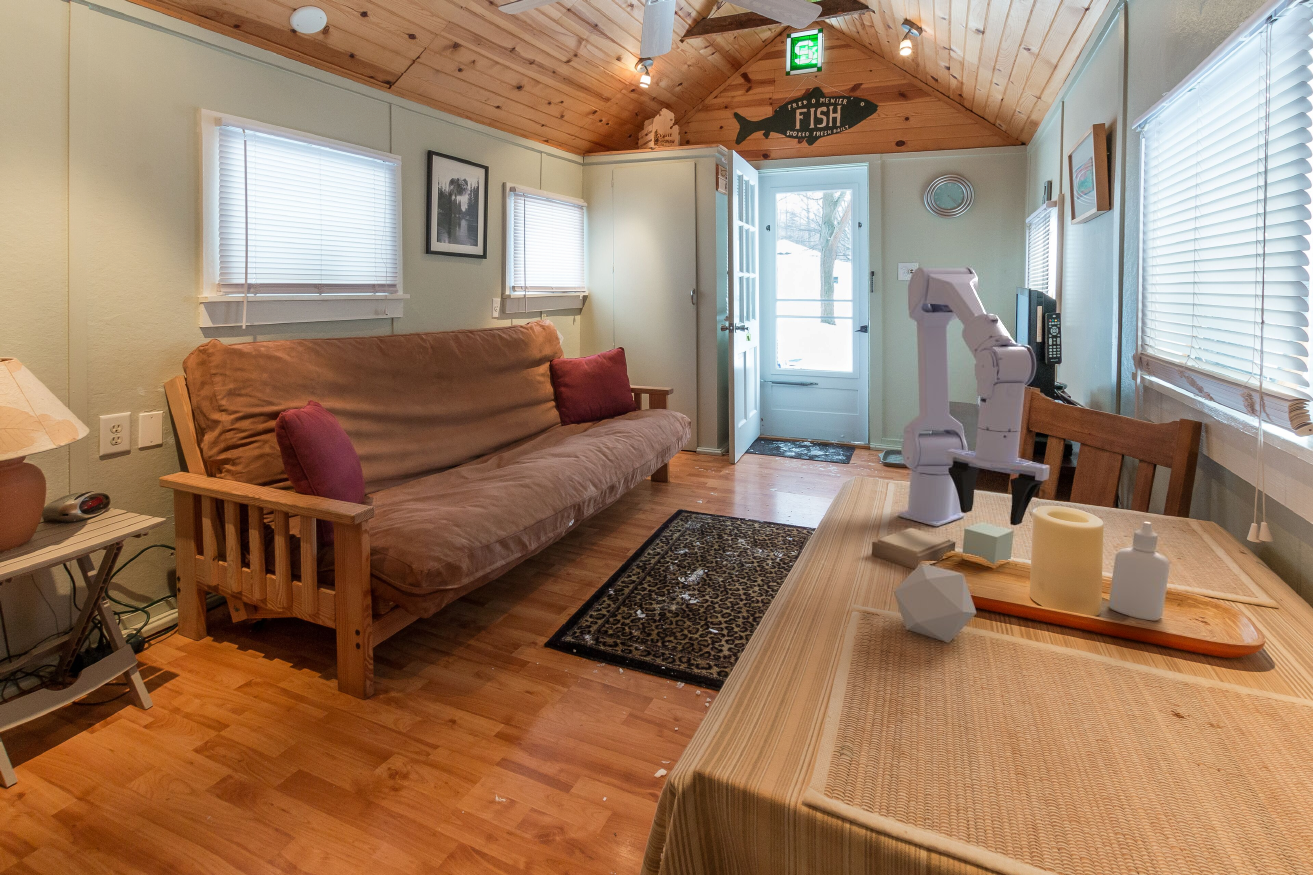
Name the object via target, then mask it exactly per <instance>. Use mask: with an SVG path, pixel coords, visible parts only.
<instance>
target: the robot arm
mask: <svg viewBox="0 0 1313 875" xmlns="http://www.w3.org/2000/svg"><path fill="white" fill-rule="evenodd" d="M978 279H979V278H978V276H977V274H976V272H975V270H974V269H973V268H972V267H970V266H969V267H961V268H958V267H956V268H954V267H950V268H949V267H948V268H947V267H946V268H944V267H941V268H940V267H939V268H938V267H937V268H936V267H934V268H933V267H931V268H929V267H928V268H927V267H926V268H925V267H921V266H920V267H917V268H916V269H915V270H914V271H913V272H912V274H911V277H910V279H909V283H908V286H907V303H908V304H907V306H908V317H909V318H910V319H912V320H913V321H914V322H916V338H917V340H916V341H917V373H918V375H917V376H918V377H917V378H918V409H919V410H918V412H919V413H918V415H917V416H916V417H915V418H914V419H912V420H911V421H910V422H908V423H906V425H905V426H904V428H903V436H902V438H903V439H902V441H901V450H900V451H901V458H902V461H903V463H904V464H905V466H906V467H907V468H909V469H910V474H909V475H910V477H909V490H908V501H907V502H908V503H907V504H908V505H907V509H906V510H903V511H901V512H898V513H897V516H898V517H901V518H904V519H908V520H912V521H915V522H920V523H923V524H926V525H929V526H934V527H939V526H942V525H944V524H945V525H946V524H947V523H950V522H953V521H957V520H959V519H961V518H964V517H965V514H967V513H969V512H972V511H973V507H974V498H975V487H976V483H977V479H978V475H979V472H980V469H984V470H989V471H995V472H1000V473H1006V474H1010V475H1015V476H1018V477H1014V478H1011V479H1010V480H1009V482H1010V488H1011V508H1010V515H1009V516H1010V518H1009V523H1010V525H1012V526H1018V525H1020V524H1022V523H1023V519H1024V516H1025V514H1026V511H1027V509H1028V508H1029V505H1030V502H1031V500H1032V499H1033V497H1034V496H1035V494H1036V492H1037V491H1038V489H1040V487H1041V486H1042V484H1043V483H1044V481H1046V480H1049V479H1050V477H1049V476H1050V471H1051V470H1050V469H1051V467H1050V465H1047V464H1043V463H1039V462H1033V461H1031V460H1027V459H1023V458H1020V457H1019V451H1020V450H1019V448H1020V440H1021V432H1022V431H1021V430H1022V429H1021V428H1022V420H1023V409H1024V401H1025V391H1026V390H1025V389H1026V386H1028V385H1029V384H1030V383H1031V382H1032V381H1033V380H1034V377H1035V375H1036V371H1037V359H1036V354H1035V353H1034V351H1033V348H1032V347H1031V346H1030V345H1028V344H1021V343H1020V342H1016V341H1015V340H1014V339H1013V338H1012V336H1011V335H1010V334H1011V333H1009V331H1008V330H1007V329H1006V327H1005V326H1004V324H1003V323H1002V321H1001V320H1000V318H999V316H998V315H997V314H992V313H987V312H986V310H985V308H984V306H983V303H982V302H981V299H980V297H979V296H978V294H977V292H978V285H979V282H978V281H979V280H978ZM956 319H958V320H959V321H960V323H961V324H962V325H963V326H964V327H963V328H962V333H961V336H962V339H963V341H964V342H965V344H966V346H967V347H968V349H969V351H970V352H971V354H972V356H973V358H974V359H975V364H974V375H975V379H976V393H977V396H978V397H979V408H978V410H979V411H978V419H977V430H976V443H975V451H971V450H968V444H967V441H966V437H965V432H964V431H965V430H964V425H963V424H962V423H961V422H959V421H958V420H957V419H955V418H954V417H953V416H952V415H951V414H950V393H949V392H950V390H949V389H950V388H949V358H948V356H949V354H948V325H949V323H950V322H951V321H954V320H956ZM921 432H923V433H921ZM924 432H925V433H924ZM927 432H928V433H927ZM930 432H936V433H930ZM937 432H941V433H937ZM942 432H943V433H942Z"/></svg>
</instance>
